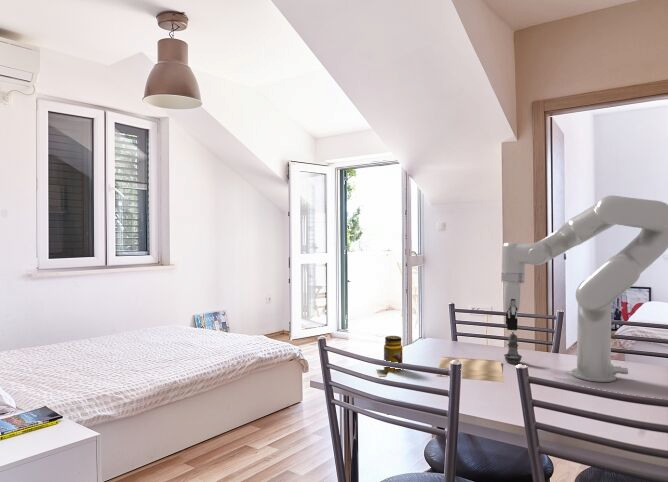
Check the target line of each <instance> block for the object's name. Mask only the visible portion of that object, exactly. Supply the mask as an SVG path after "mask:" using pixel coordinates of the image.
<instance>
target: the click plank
mask: <svg viewBox="0 0 668 482" xmlns="http://www.w3.org/2000/svg"><path fill="white" fill-rule="evenodd" d="M452 360H459V361H461V362H462V363H463V366H462V370H472V371H485V372H498V373H502V374H503V368H502V361H501V360H494V359H493V360H491V359H480V358H477V359H476V358H463V357H453V356H441V358H440V362H439V365H438V369H439V368H447V369H449V364H450V361H452Z"/></svg>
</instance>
